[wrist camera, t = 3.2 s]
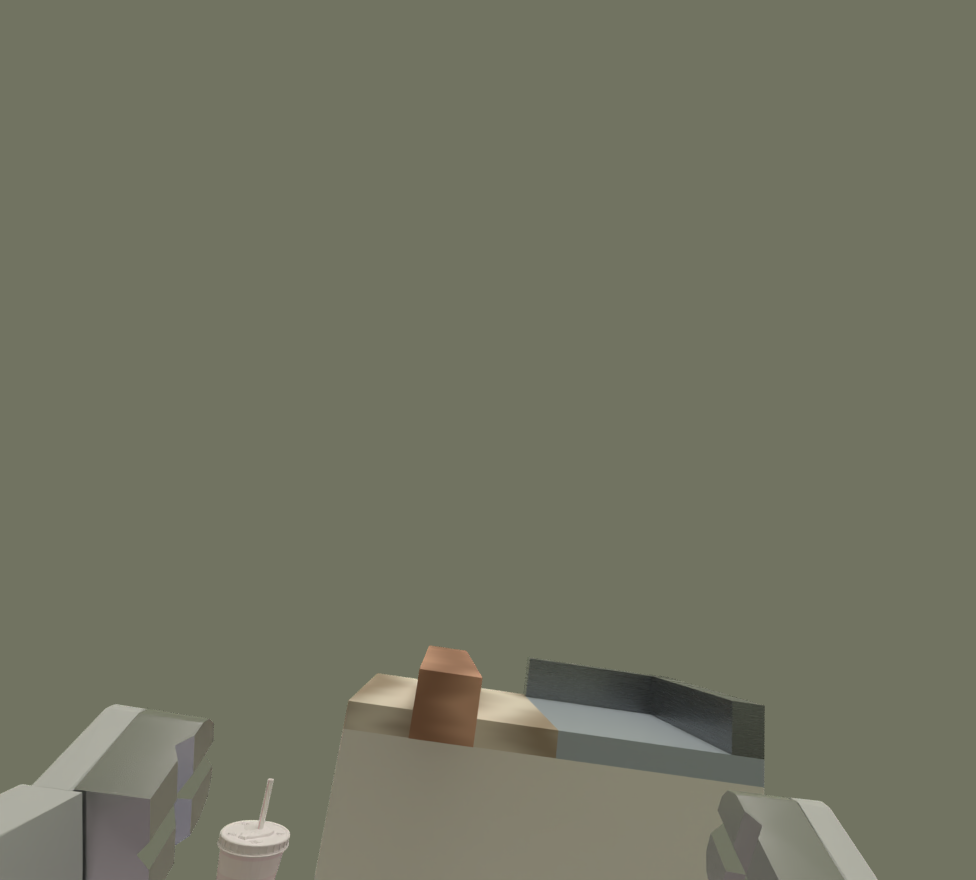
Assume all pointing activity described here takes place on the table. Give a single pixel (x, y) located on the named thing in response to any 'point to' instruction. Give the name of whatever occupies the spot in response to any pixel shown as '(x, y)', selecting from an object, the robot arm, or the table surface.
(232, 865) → the smoothie
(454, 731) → the rod
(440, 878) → the lidded kitchen bin
